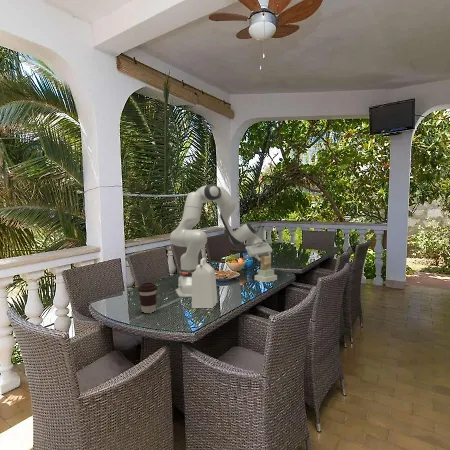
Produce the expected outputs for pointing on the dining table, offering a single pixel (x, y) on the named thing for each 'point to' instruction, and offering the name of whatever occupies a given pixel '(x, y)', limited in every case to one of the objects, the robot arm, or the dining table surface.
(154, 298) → the coffee cup
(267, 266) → the beech pillar
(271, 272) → the tower top block
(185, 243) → the robot arm
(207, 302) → the milk
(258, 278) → the tower base slab
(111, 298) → the dining table surface
